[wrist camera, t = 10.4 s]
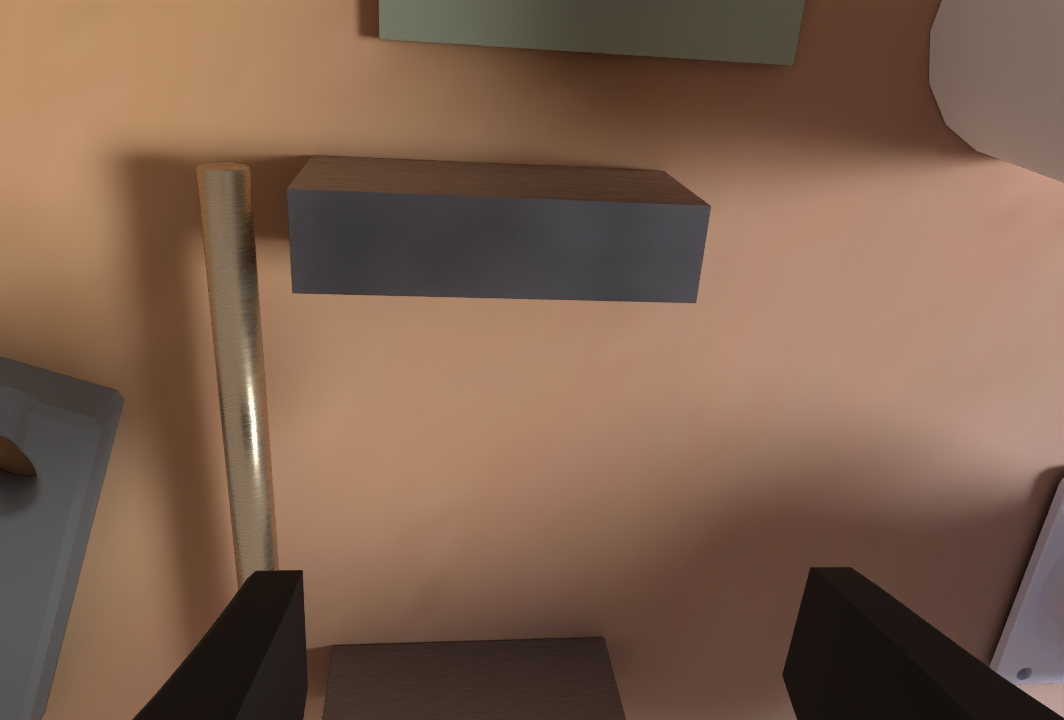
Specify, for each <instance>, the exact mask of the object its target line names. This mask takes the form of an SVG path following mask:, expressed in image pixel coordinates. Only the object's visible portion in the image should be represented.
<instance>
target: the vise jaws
mask: <svg viewBox="0 0 1064 720" xmlns="http://www.w3.org/2000/svg"><path fill="white" fill-rule="evenodd" d="M196 172H197V182H198V192H199V202H200V212H201V222H202V232H203V242H204V252H205V262H206V272H207V282H208V292H209V303H210V313H211V323H212V333H213V343H214V353H215V363H216V373H217V383H218V393H219V403H220V413H221V423H222V433H223V443H224V453H225V463H226V473H227V483H228V494H229V504H230V514H231V524H232V534H233V544H234V554H235V564H236V574H237V584H238V591H239V589H240V588H241V586H242V585H243V584H244V582H245V581H246V579H247V578H248V577H249V576H250V575H251V574H253V573H254V572H255V571H279V560H278V547H277V533H276V519H275V506H274V492H273V479H272V465H271V451H270V438H269V424H268V410H267V397H266V383H265V369H264V356H263V342H262V328H261V315H260V301H259V288H258V274H257V260H256V247H255V233H254V219H253V206H252V192H251V178H250V167H249V166H248V165H245V164H240V163H230V162H215V163H205V164H200V165H198V166H196ZM287 205H288V223H289V241H290V259H291V277H292V293H302V294H343V295H384V296H425V297H466V298H508V299H549V300H590V301H631V302H672V303H696V300H697V293H698V287H699V280H700V274H701V267H702V261H703V254H704V248H705V242H706V235H707V229H708V222H709V216H710V209H711V206H710V205H709V204H708V203H706V202H705V201H704V200H702V199H701V198H699V197H698V196H697V195H695V194H694V193H693V192H691V191H690V190H689V189H687V188H686V187H685V186H683V185H682V184H681V183H679V182H678V181H677V180H675V179H674V178H673V177H671V176H670V175H668V174H667V173H666V172H664V171H647V170H625V169H603V168H581V167H560V166H538V165H516V164H494V163H472V162H450V161H428V160H407V159H385V158H363V157H341V156H319V155H312V156H311V158H310V159H309V160H308V162H307V163H306V164H305V166H304V167H303V168H302V169H301V171H300V172H299V173H298V175H297V176H296V177H295V179H294V180H293V181H292V182H291V184H290V185H289V186H288V188H287ZM322 720H626V718H625V714H624V711H623V707H622V703H621V700H620V696H619V692H618V688H617V685H616V681H615V677H614V674H613V670H612V666H611V662H610V659H609V655H608V651H607V648H606V644H605V640H604V638H575V639H542V640H509V641H476V642H443V643H410V644H377V645H344V646H333V651H332V657H331V664H330V670H329V677H328V683H327V690H326V696H325V703H324V709H323V716H322Z"/></svg>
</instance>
